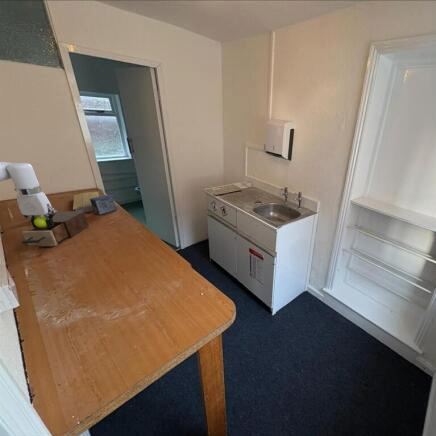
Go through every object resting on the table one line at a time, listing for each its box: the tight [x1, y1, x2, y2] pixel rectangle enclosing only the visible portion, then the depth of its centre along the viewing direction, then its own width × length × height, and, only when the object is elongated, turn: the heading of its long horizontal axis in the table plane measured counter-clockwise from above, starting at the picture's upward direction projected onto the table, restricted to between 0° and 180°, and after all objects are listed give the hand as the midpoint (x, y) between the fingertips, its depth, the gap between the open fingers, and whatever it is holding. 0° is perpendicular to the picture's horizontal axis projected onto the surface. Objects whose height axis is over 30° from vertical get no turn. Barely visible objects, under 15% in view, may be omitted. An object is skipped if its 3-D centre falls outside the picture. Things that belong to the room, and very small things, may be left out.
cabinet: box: [52, 210, 90, 239], centre depth 125 cm, size 15×13×10 cm
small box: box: [90, 194, 117, 216], centre depth 153 cm, size 11×6×10 cm, turn 154°
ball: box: [34, 216, 47, 228], centre depth 112 cm, size 6×6×6 cm
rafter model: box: [72, 191, 100, 213], centre depth 164 cm, size 35×14×6 cm, turn 39°
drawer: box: [21, 223, 69, 247], centre depth 114 cm, size 18×11×8 cm, turn 9°
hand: (44, 226), depth 113 cm, fingers closed on ball, 5 cm apart
